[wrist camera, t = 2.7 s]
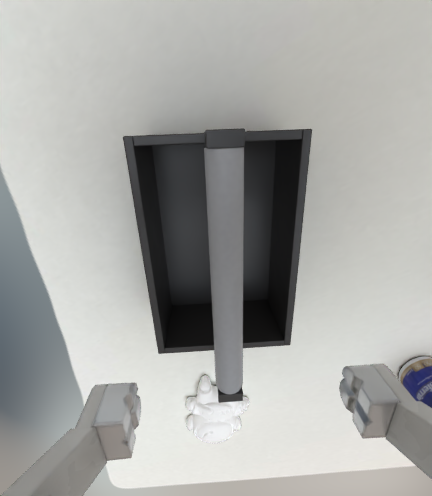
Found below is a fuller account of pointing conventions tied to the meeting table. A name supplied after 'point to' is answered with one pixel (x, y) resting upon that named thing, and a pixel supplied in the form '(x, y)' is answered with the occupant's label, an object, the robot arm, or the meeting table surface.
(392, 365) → the meeting table surface
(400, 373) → the pill bottle
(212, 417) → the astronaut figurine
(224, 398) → the black bin
